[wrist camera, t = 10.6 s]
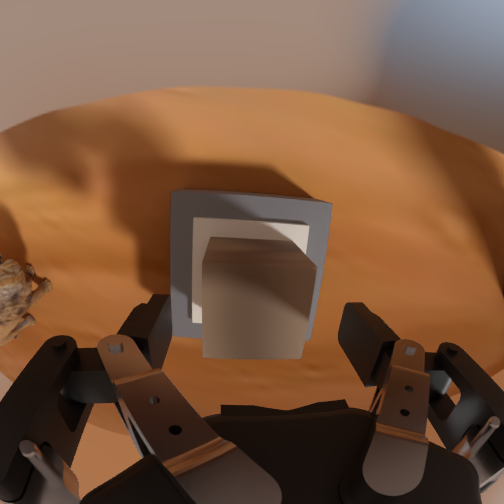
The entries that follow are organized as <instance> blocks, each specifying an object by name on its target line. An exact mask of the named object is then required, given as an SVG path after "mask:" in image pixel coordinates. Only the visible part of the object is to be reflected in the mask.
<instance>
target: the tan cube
mask: <svg viewBox="0 0 504 504" xmlns="http://www.w3.org/2000/svg"><path fill="white" fill-rule="evenodd" d="M316 274H317V266H316V265H315V264H314V263H313V262H312V261H311V260H310V259H309V258H308V257H307V255H306V254H305V253H304V252H303V251H302V250H301V249H300V248H299V247H298V246H297V245H296V244H295V243H294V242H293V241H283V240H265V239H247V238H227V237H210V239H209V242H208V245H207V249H206V252H205V255H204V258H203V261H202V350H203V358H217V359H301V357H302V352H303V347H304V342H305V337H306V332H307V327H308V321H309V316H310V310H311V305H312V299H313V293H314V287H315V280H316Z"/></svg>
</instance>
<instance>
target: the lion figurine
mask: <svg viewBox="0 0 504 504" xmlns="http://www.w3.org/2000/svg"><path fill="white" fill-rule="evenodd" d="M25 270H26V272H25V273H24V271H23V270H22V269H21V267H20V264H19V263H18V262H17V261H14V260H13V259H7V260H6V261H5V262H3V258H2V254H1V253H0V346H3V345H5V344H7V343H8V342H9V341H11V340H12V339H13V338H15V339H16V337H17V333H18V332H19V331H20V330H22V329H24V328H25V327H27V326H30V325H34V324H35V320H34V318H33V317H32V316H31V315H28V316H27V317H26V319H25V320H23V321H22V322H21V323H19V321H20V319H21V317H22V316H23V315H24V314H25V313H26V312H27V311H28V310H29V308H30V307H32V306H33V305H34V304H35V303H36V302H37V301H38V300H39V299H40V298H41V297H42V295H43V294H45V293H47V292H50V291H51V290H52V284H51V282H50V281H49V280H48V279H46V280H45V281H44V282H41V283H40V285H39V286H38V288H37V289H36V290H34V291H32V289H31V287H32V281H31V280H32V278H33V275H34V268H33V266H31V265H27V266H26V267H25Z"/></svg>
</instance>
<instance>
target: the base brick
mask: <svg viewBox="0 0 504 504" xmlns="http://www.w3.org/2000/svg"><path fill="white" fill-rule="evenodd" d="M331 212H332V203H329V202H325V201H322V200H318V199H315V198H306V197H297V196H287V195H276V194H264V193H251V192H237V191H221V190H201V189H180V190H176V191H172V192H171V212H170V288H171V309H172V330H173V336H178V337H190V338H202V261H203V258H204V255H205V252H206V249H207V245H208V242H209V239H210V237H227V238H247V239H265V240H283V241H293V242H294V243H295V244H296V245H297V246H298V247H299V248H300V249H301V250H302V251H303V252H304V253H305V254H306V255H307V257H308V258H309V259H310V260H311V261H312V262H313V263H314V264H315V265H316V266H317V274H316V280H315V287H314V293H313V299H312V305H311V310H310V316H309V321H308V327H307V332H306V337H305V340H310V338H311V333H312V328H313V323H314V318H315V313H316V308H317V303H318V298H319V292H320V287H321V281H322V275H323V269H324V263H325V256H326V250H327V243H328V236H329V228H330V220H331Z"/></svg>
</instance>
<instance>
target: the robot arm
mask: <svg viewBox="0 0 504 504" xmlns="http://www.w3.org/2000/svg"><path fill="white" fill-rule="evenodd" d="M171 338H172V309H171V297H170V295H162V294H153V295H152V297H151V299H150V300H149V302H148V303H147V304H144V303H141V304H140V305H138V306H136V307H135V308H134V309H133V310H132V312H131V313H130V315H129V316H128V317H127V319H126V320H125V322H124V323H123V325H122V327H121V328H120V330H119V331H118V333H117V334H115V335H109V336H106V337H104V338H102V339H101V340H100V341H99V342H98V344H97V347H96V348H78V347H77V344H76V341H75V340H74V339H73V338H72V337H70V336H66V335H59V336H54V337H52V338H50V339H48V340H47V341H46V342H45V343H44V344H43V345H42V346H41V348H40V349H39V350H38V351H37V353H36V354H35V355H34V356H33V358H32V359H31V360H30V361H29V363H28V364H27V365H26V367H25V368H24V369H23V371H22V372H21V373H20V375H19V376H18V377H17V379H16V380H15V381H14V383H13V384H12V386H11V387H10V389H9V390H8V391H7V393H6V394H5V396H4V397H3V399H2V400H1V402H0V501H1V502H3V503H4V504H482V502H481V496H480V493H483V492H484V491H486V490H487V489H488V488H489V487H490V486H492V485H493V484H494V483H495V482H496V481H497V480H498V479H499V478H501V477H502V476H503V475H504V391H503V390H502V389H501V388H500V387H499V386H498V385H497V384H496V383H495V382H494V381H493V379H492V378H491V377H490V376H489V375H488V374H487V373H486V372H485V371H484V370H483V369H482V368H481V367H480V366H479V365H478V364H477V363H476V362H475V361H474V360H473V359H472V358H471V357H470V356H469V355H468V354H467V353H466V352H465V351H464V350H463V349H462V348H461V347H459V346H458V345H456V344H453V343H448V342H445V343H441V344H440V345H439V348H438V350H437V352H436V353H431V352H425V350H424V348H423V346H422V345H420V344H419V343H417V342H416V341H413V340H409V339H400V338H399V337H398V336H397V335H396V334H395V333H394V331H393V330H392V329H391V328H389V326H388V325H387V324H386V323H385V322H384V321H383V320H382V319H381V318H380V317H379V316H377V315H376V314H374V313H372V312H371V311H370V310H369V309H368V308H367V307H366V306H365V305H364V304H363V303H362V302H350V303H346V305H345V307H344V311H343V315H342V319H341V323H340V327H339V331H338V341H339V344H340V346H341V347H342V349H343V351H344V352H345V354H346V355H347V357H348V359H349V360H350V362H351V364H352V366H353V367H354V369H355V371H356V372H357V374H358V376H359V377H360V379H361V381H362V382H363V384H364V386H365V387H371V386H377V388H376V391H375V393H374V396H373V398H372V401H371V404H370V407H369V410H368V411H366V410H362V409H358V408H349V407H348V405H347V403H346V401H345V399H344V400H336V401H327V402H317V403H314V404H311V405H307V406H304V407H300V408H296V409H293V410H278V409H272V408H265V407H259V406H254V405H221V414H215V415H210V416H206V417H203V418H202V417H201V416H200V415H199V414H198V413H197V412H196V411H195V410H194V408H193V407H192V406H191V405H190V404H189V403H188V401H187V400H186V399H185V398H184V397H183V396H182V394H181V393H180V392H179V391H178V390H177V388H176V387H175V386H174V385H173V383H172V382H171V381H170V380H169V378H168V377H167V376H166V374H165V373H164V372H163V371H162V366H163V363H164V360H165V357H166V354H167V350H168V347H169V344H170V341H171ZM452 381H453V382H454V383H455V384H456V386H457V387H458V388H459V389H460V392H461V397H460V400H459V402H458V404H457V405H455V404H454V403H453V401H452V400H451V399H450V397H449V396H448V395H447V393H446V391H447V390H448V388H449V386H450V384H451V383H452ZM94 403H114V405H115V408H116V410H117V412H118V414H119V416H120V418H121V420H122V421H123V423H124V425H125V427H126V429H127V431H128V433H129V434H130V436H131V438H132V440H133V442H134V444H135V446H136V448H137V450H138V452H139V453H140V455H141V457H142V459H141V460H139V461H138V462H136V463H135V464H133V465H132V466H130V467H129V468H127V469H126V470H124V471H123V472H121V473H120V474H118V475H116V476H115V477H113V478H112V479H110V480H108V481H107V482H105V483H103V484H102V485H100V486H98V487H97V488H95V489H93V490H92V491H90V492H89V493H88V494H86V495H85V496H84V497H83V499H82V500H80V497H79V492H78V491H79V483H78V479H77V477H76V475H75V474H74V473H73V471H72V470H71V469H70V468H71V465H72V462H73V459H74V456H75V453H76V450H77V447H78V444H79V442H80V439H81V436H82V433H83V431H84V428H85V425H86V423H87V420H88V417H89V415H90V412H91V410H92V407H93V405H94ZM427 418H428V419H429V421H430V422H431V424H432V426H433V427H434V429H435V430H436V432H437V434H438V435H439V437H440V439H441V440H442V442H443V444H444V446H445V447H446V449H445V448H443V447H440V446H438V445H436V444H434V443H432V442H430V441H428V439H427V438H426V437H425V432H426V425H427Z"/></svg>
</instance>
